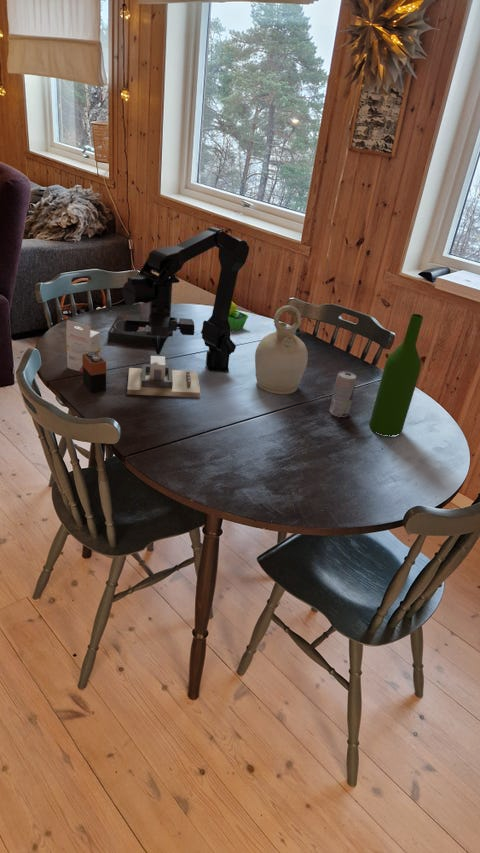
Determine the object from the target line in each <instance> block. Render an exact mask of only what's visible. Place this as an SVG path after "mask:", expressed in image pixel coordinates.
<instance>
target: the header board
mask: <svg viewBox="0 0 480 853" xmlns="http://www.w3.org/2000/svg"><path fill="white" fill-rule="evenodd" d="M141 365H142V366H141V367H139V368H137V367H129V368H128V380H127V388H126V389H127V391H126V392H127V393H126V394H127V395H137V396H138V395H139V396H140V395H141V396H159V397H160V396H161V397H180V398H181V397H182V398H183V397H185V398H201V386H200V383H199V382H200V381H199V376H198V371H197V370H196V371H195V370H178V369H173V366H171V365H165V380H151V379H150V366H151V364H141Z"/></svg>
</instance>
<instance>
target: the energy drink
mask: <svg viewBox="0 0 480 853" xmlns="http://www.w3.org/2000/svg"><path fill="white" fill-rule="evenodd" d="M357 377H358V376H357V375H356V374H355V373H353V372H351V371H349V370H348V371H346V370H341V371H339V372H338V373H337V376H336V380H335V384H334V388H333V394H332V398H331V402H330V407H329V412H330V414H331V415H332V416H333V415H334V417H336V416H337V417H336V418H340V417H343V418H346V417H348V416H349V412H350V408H351V406H352V405H351V404H352V401H353V396H354V394H355V393H354V392H355V388H356V383H357V380H358V379H357Z"/></svg>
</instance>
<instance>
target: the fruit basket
mask: <svg viewBox="0 0 480 853" xmlns="http://www.w3.org/2000/svg"><path fill="white" fill-rule="evenodd" d="M236 308H237V305H236V303H234V301H232V303H231V308H230V312H229V317H228V321H229V325H230V328H231V331H237V330H240V329H243V328H244V326H245V324H246V323H247V319H248V318H249V315H248V314H246V313H243V312H242V311H239V310H237V309H236Z"/></svg>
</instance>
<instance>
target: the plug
mask: <svg viewBox="0 0 480 853" xmlns="http://www.w3.org/2000/svg"><path fill="white" fill-rule="evenodd" d="M150 365H151V366H150V379H151V380H165V366H166V356H165V355H164V356H163V355H150Z"/></svg>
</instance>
